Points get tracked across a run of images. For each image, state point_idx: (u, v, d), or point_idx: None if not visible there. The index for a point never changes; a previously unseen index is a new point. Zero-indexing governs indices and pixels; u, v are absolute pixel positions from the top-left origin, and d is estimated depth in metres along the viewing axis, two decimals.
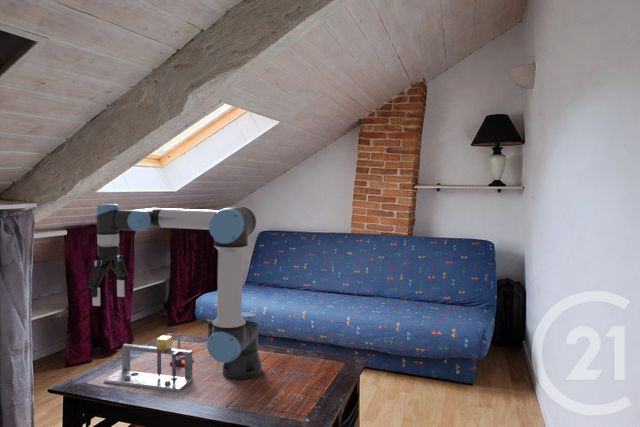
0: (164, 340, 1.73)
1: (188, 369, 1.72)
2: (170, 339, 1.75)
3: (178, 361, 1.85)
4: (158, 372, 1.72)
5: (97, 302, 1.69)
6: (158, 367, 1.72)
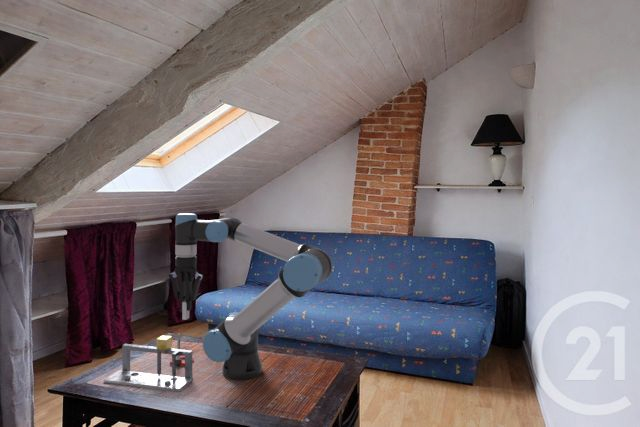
0: (164, 340, 1.73)
1: (188, 369, 1.72)
2: (170, 339, 1.75)
3: (178, 361, 1.85)
4: (158, 372, 1.72)
5: None
6: (158, 367, 1.72)
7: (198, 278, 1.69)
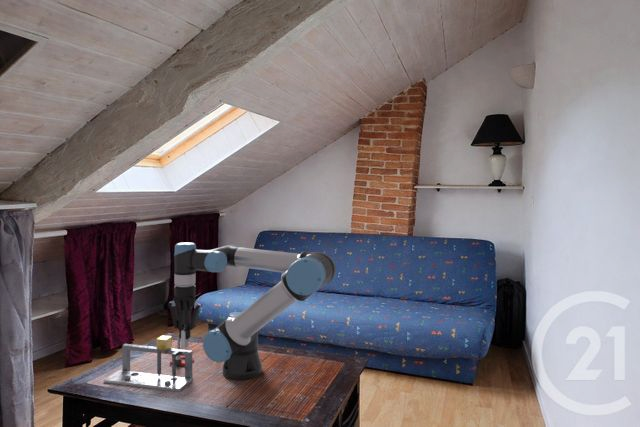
0: (164, 340, 1.73)
1: (188, 369, 1.72)
2: (170, 339, 1.75)
3: (178, 361, 1.85)
4: (158, 372, 1.72)
5: None
6: (158, 367, 1.72)
7: (197, 307, 1.70)
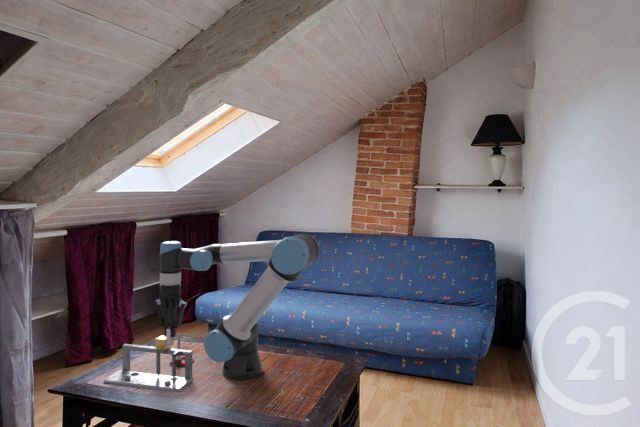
0: (163, 340, 1.73)
1: (188, 369, 1.72)
2: None
3: (178, 361, 1.85)
4: (157, 372, 1.72)
5: None
6: (157, 367, 1.72)
7: (182, 306, 1.71)
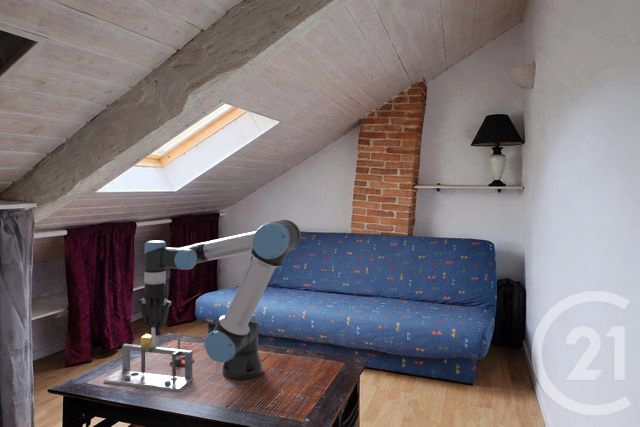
0: (148, 339, 1.74)
1: (188, 369, 1.72)
2: None
3: (178, 361, 1.85)
4: (142, 370, 1.73)
5: None
6: (142, 365, 1.73)
7: (166, 304, 1.72)
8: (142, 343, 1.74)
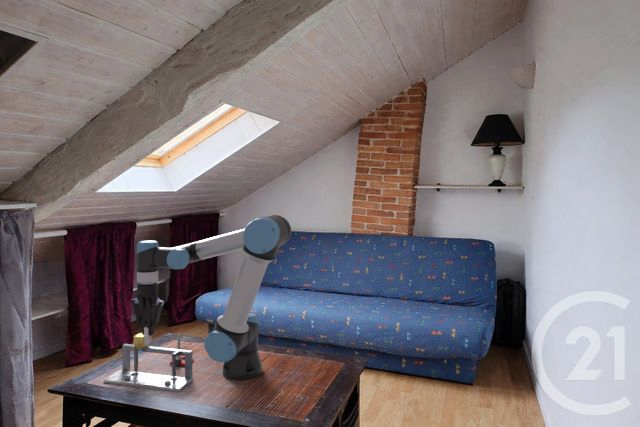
0: (141, 338, 1.74)
1: (188, 369, 1.72)
2: None
3: (178, 361, 1.85)
4: (135, 369, 1.74)
5: None
6: (135, 364, 1.73)
7: (159, 304, 1.73)
8: (135, 342, 1.75)
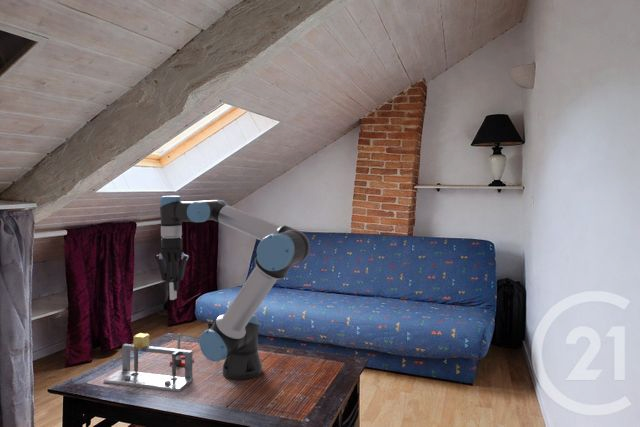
0: (141, 338, 1.74)
1: (188, 369, 1.72)
2: (147, 337, 1.77)
3: (178, 361, 1.85)
4: (135, 369, 1.74)
5: None
6: (135, 364, 1.73)
7: (184, 258, 1.73)
8: (135, 342, 1.75)
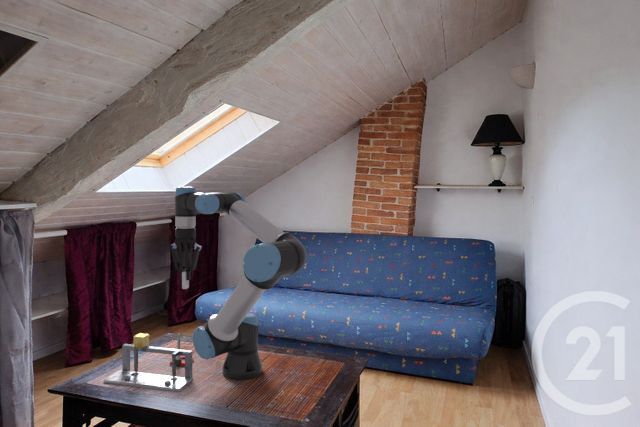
0: (141, 338, 1.74)
1: (188, 369, 1.72)
2: (147, 337, 1.77)
3: (178, 361, 1.85)
4: (135, 369, 1.74)
5: None
6: (135, 364, 1.73)
7: (197, 248, 1.76)
8: (135, 342, 1.75)
